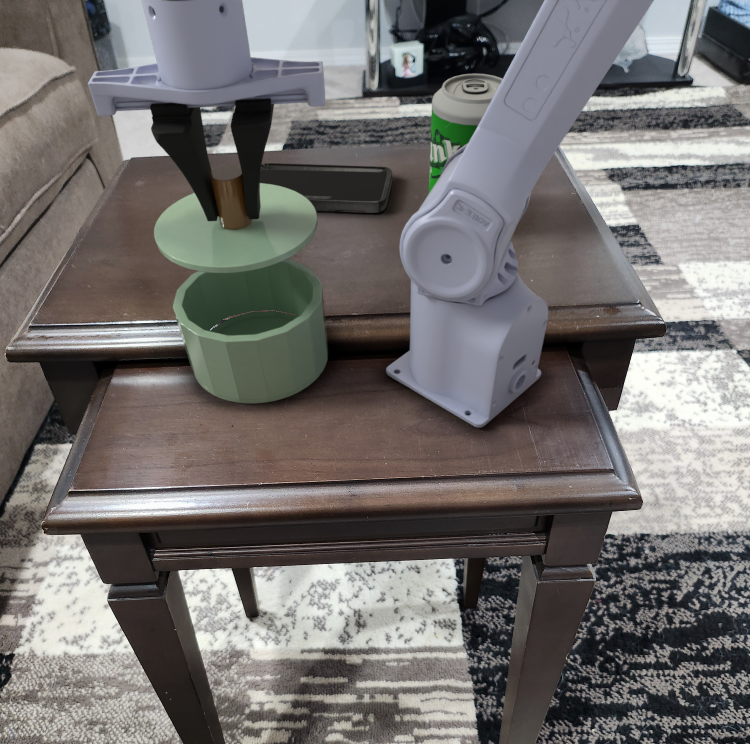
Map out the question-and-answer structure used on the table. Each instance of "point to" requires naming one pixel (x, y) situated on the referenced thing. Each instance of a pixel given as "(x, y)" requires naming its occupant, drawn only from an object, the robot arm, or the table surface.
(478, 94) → the soda can
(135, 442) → the table surface
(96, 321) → the table surface
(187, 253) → the pot lid
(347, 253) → the table surface
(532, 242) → the table surface
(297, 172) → the phone
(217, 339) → the pot
